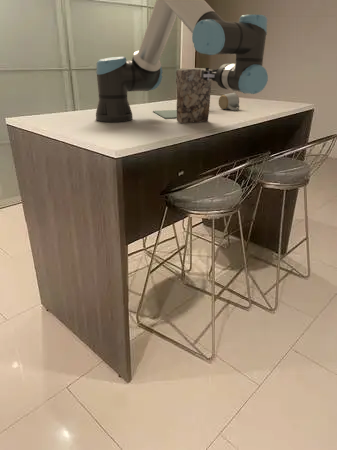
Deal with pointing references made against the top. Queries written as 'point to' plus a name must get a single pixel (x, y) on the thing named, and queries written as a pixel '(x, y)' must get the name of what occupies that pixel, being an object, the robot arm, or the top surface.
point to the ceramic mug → (229, 101)
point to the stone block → (192, 96)
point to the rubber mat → (167, 114)
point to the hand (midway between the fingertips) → (202, 72)
